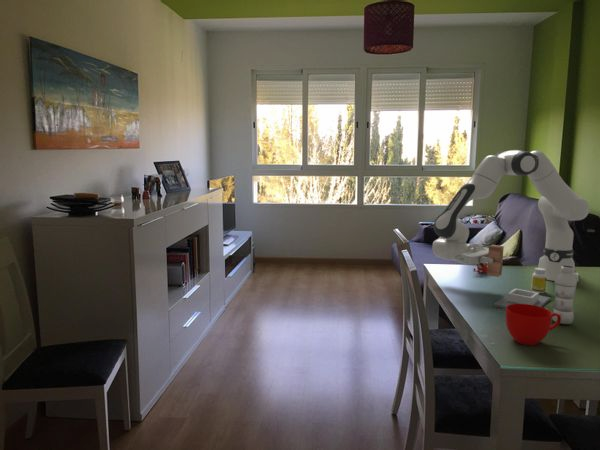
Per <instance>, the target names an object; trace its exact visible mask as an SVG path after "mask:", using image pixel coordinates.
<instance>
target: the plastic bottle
mask: <svg viewBox="0 0 600 450" xmlns="http://www.w3.org/2000/svg"><path fill="white" fill-rule="evenodd" d="M573 269H574V270H575V266H574V267H572V266H567V265H562V266H561V270H560V271H561V273H560V274H559V275H558V276H557V277H556V279H555V281H554V288H555V290H554V291H555V294H554V295H555V297H554V298H555V300H554V305H553V308H552V311H551V312H552V313H557V314H559V315H560V317H561V321H560V323H559V325H560V324H561V325H571V324H572V323H573V322H574V319H575V318H574V316H575V315H574V297H575V293H576V288H577V283H578V282H576V279H575V277H574V276H573V274H572V273H573V272H574V271H573ZM557 319H558V318H557V316H553V317H552V321H553V322H554V323H556V321H557Z"/></svg>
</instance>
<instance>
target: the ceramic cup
mask: <svg viewBox="0 0 600 450" xmlns="http://www.w3.org/2000/svg"><path fill="white" fill-rule="evenodd" d="M553 316H557V318H558V319H557V321H556V322H554V324H551V323H552V321H553V319H552V317H553ZM505 321H506V322H505V323H506V328H507V330H508V332H509V334H510V336H511V337H512V338H513V339H514V341H515V342H517V343H518V344H521V345H524V346H525V345H527V346H536V345H538V344H539V343H540V342H542V341H543V340H544V339H545V338H546V337H547V335H548V333H549V331H551V330H554V329H555V328H557V327H558V326H559V325H560V321H561V317H560V315H559V314H557V313H552V311H551V310H550V309H548V308H545V307H543V306H542V307H539V306H535V305H528V304H511V305H508V306H507V307H506V309H505Z"/></svg>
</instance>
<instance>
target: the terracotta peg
mask: <svg viewBox="0 0 600 450" xmlns="http://www.w3.org/2000/svg"><path fill="white" fill-rule="evenodd" d="M488 248H489V252H488V258H494V262H493V263H488V262H487V272H486V276H490V277H491V276H492V277H497V278H499V277H500V276H502V273H503V261H504V248H505V246H503V245H498V244H497V245H496V244H491V245H489V246H488Z"/></svg>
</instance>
